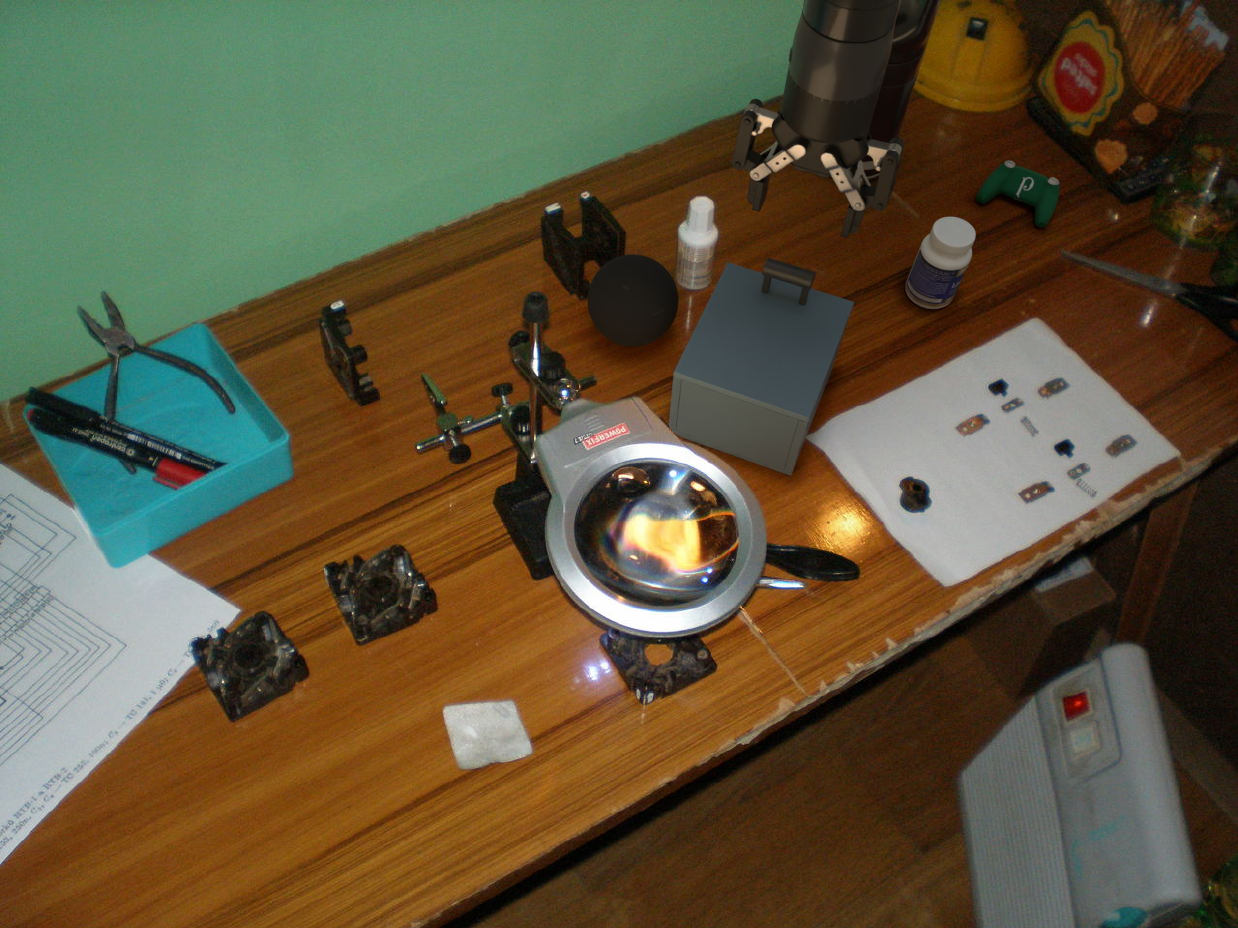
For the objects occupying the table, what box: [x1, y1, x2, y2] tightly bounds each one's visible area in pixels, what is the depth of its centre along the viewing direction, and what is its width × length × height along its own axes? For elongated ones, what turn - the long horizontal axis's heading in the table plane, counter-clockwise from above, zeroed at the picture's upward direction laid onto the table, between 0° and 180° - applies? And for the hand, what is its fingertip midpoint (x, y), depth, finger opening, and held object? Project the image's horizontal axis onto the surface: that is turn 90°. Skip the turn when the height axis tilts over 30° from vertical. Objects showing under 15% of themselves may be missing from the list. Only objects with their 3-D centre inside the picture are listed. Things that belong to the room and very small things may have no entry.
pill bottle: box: [904, 216, 977, 310], centre depth 111 cm, size 6×6×10 cm
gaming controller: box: [975, 160, 1061, 229], centre depth 122 cm, size 9×4×6 cm
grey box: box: [668, 317, 850, 477], centre depth 103 cm, size 15×14×10 cm
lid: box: [672, 257, 855, 423], centre depth 96 cm, size 16×14×5 cm
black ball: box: [586, 253, 680, 348], centre depth 108 cm, size 10×10×10 cm
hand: (801, 218), depth 91 cm, fingers open, 8 cm apart
